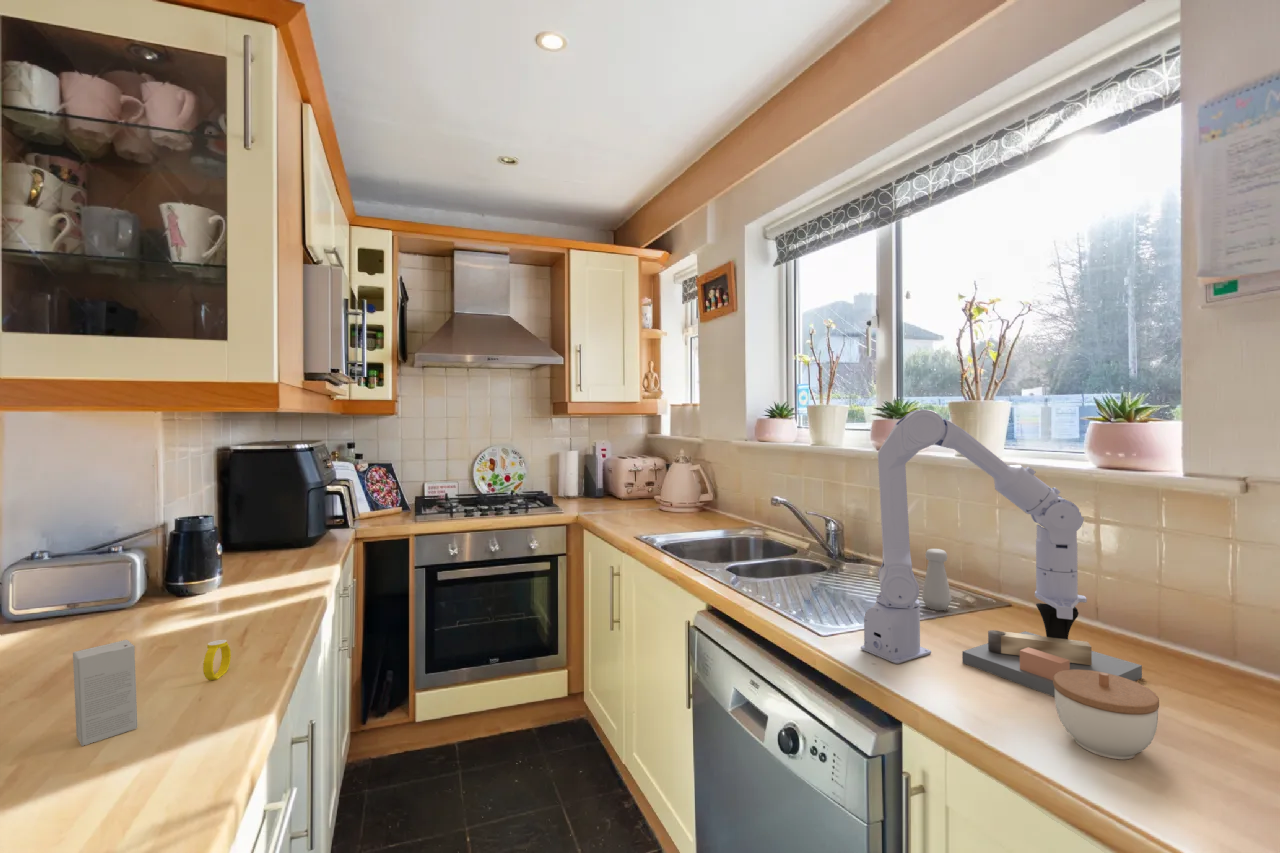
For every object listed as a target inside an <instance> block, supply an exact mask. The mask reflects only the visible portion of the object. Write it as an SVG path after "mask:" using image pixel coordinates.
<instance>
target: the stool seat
mask: <svg viewBox="0 0 1280 853" xmlns="http://www.w3.org/2000/svg"><path fill="white" fill-rule="evenodd" d="M1019 633H1020V634H1028V635H1036V636H1041V634H1035V633H1034V632H1029V631H1022V632H1019ZM961 653H962V654H961V655H962V664H964V665H966V666H967V665H968V666H970V667H973V668H976V669H978V670H980V671H983V672H987V673H989V674H992V675H995V676H997V677H1000V678H1003V679H1006V680H1008V681H1010V682H1013V683H1016V684H1019V685H1022V686H1025V687H1027V688H1030V689H1032V690H1035V691H1038V692H1040V693H1043V694H1045V695H1048V696H1051V697H1054V698H1055V696H1054V685H1053V676H1054V675H1055V674H1056V673H1058V672H1060V671H1064V670H1091V671H1098V672H1104V673H1108V674H1112V675H1116V676H1120V677H1123V678H1126V679H1129V680H1132V681H1135V682H1137V681H1138V680H1140V679H1142V678H1143V665H1142V664H1137V663H1136V662H1132V661H1128V660H1124V659H1121V658H1117V657H1114V656H1110V655H1108V654H1104V653H1100V652H1097V651H1094V650H1092V665H1084V664H1077V663H1070V660H1068V659H1064V658H1061V657H1058V656H1055V655H1052V654H1048V653H1045V652H1042V651H1039V650H1036V649H1032V648H1029V647H1028V648H1025V649H1022V650H1020V656H1018V655H1011V654H1003V653H995V652H992V651H990V650H989V649H988V642H987V643H983V644H981V645H978V646H974V647H971V648H969V649H966V650H965V649H964V650H962V652H961Z"/></svg>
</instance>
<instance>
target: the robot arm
mask: <svg viewBox="0 0 1280 853" xmlns="http://www.w3.org/2000/svg"><path fill="white" fill-rule="evenodd" d="M933 445H936V446H938V447H942V448H946V449H952V450H954V451H956V452H958V453H959V454H960V455H961V456H963V457H964V458H965V459H967V460H968V461H970V463H972V464H974V465H975V466H976V467H977V468H980V469H981V470H982V471H984V472H985V473H986V474H987V475H989V476H990V477H992V478H993V483H994V484H993V485H994V490H996V491H997V492H998V493H999V494H1001V495H1002V496H1003V497H1005V499H1008V500H1009V501H1010V503H1012V504H1014V505H1015V506H1016V507H1018V508H1019V509H1020V510H1021V511H1022V512H1024V513H1025V514H1027V515H1030V517H1031V519H1032V521H1033V522H1034V523H1037V524H1036V539H1035V563H1036V564H1035V566H1036V567H1035V578H1036V580H1035V582H1036V583H1035V587H1036V588H1035V591H1034V597H1035V598H1036V599H1037V600H1040V601H1041V603H1040V602H1037V603H1036V604H1035V606H1036V608H1037V609H1038V612H1039V614H1040V616H1041V619H1042V621H1043V625H1044V630H1045V635H1046V636H1045V637H1052V638H1060V639H1069V635H1070V631H1071V628H1072V626H1073V624H1074V622H1075V620H1076V619H1077V618H1078V616H1079V611H1078V609H1077V607H1076V606H1077V605H1078V604H1079V603H1087V600H1088V599H1087V597H1086V596H1085V595H1083V594H1082V595H1081V594H1079V592H1078V591H1079V589H1078V588H1079V586H1078V585H1079V584H1078V581H1079V580H1078V574H1079V573H1078V569H1079V568H1078V538H1077V537H1078V536H1077V534H1078V533H1077V532H1078V531H1079V530H1080V529H1081V527H1083V524H1084V520H1085V518H1084V517H1083V516H1082V514H1081V513H1082V512H1080V508H1079V507H1078V506H1077V505H1076V504H1074V503H1073V502H1072V501H1071V500H1068V499H1065V498H1064V497H1062V496H1061V495H1060V493H1061V490H1059V489H1058V488H1057V487H1055V486H1054V487H1050V486H1049V485H1048V484H1047V483H1045V481H1043V480H1041V479H1040V478H1039V477H1037V476H1036V470H1034V469H1033V468H1031V467H1030V466H1026V467H1024V466H1023V465H1022V464H1009V465H1008V464H1007V463H1005V462H1004V461H1003V460H1002V459H1001V458H999V456H997V455H996V454H994V453H993V452H992V451H991V450H990V449H988V448H987V447H986V446H985V445H984V444H982V443H981V442H979V440H977V439H976V438H975V437H974V436H972V435H971V434H970V433H969V432H967V431H966V430H965V429H963V427H961V426H960V425H957V424H955V423H954V422H952V421H950V420H948V419H946V418H943V417H942V416H941V415H940V414H939V413H937V412H936V411H934V410H931V409H916V410H912V411H910V412H908V413H906V414H905V415H904V416H903V417H902V418H900V419H899V420H897V421H896V422H895V424H894V426H893V428H892V429H891V431H890V432H889V434H888V436H886V438H885V439H884V442H883V443H882V445H881V446H880V448H879V449H878V453H877V463H878V464H877V466H878V483H879V484H878V485H879V486H878V488H879V505H880V506H879V507H880V520H881V523H880V524H881V538H882V542H881V543H882V552H881V553H882V563H881V566H880V567H879V569H878V574H877V576H878V577H877V578H878V582H879V586H880V587H879V588H880V592H879V594H877V595H876V601H875V604H874V605H873V606H871V607H869V608H868V609H867V610H866V611H865V613H864V617H863V640H864V641H863V644H864V645H861V646H860V649H861V650H862V651H864V652H867V653H870V654H871V655H874V656H876V657H879V658H882V659H883V660H886V661H888V662H891V663H893V664H901V663H905V662H908V661H910V660H914V659H917V658H922V657H923V656H927V655H930V654H932V650H931V649H929V648H925V647H923V646H921V614H920V613H921V612H920V611H921V607H920V604H921V603H920V600H919V599H918V598H919V595H920V586H919V583H918V581H917V580H916V578H915V573H914V570H913V563H912V556H911V546H910V544H911V543H910V526H909V511H908V510H909V504H908V489H907V488H908V487H907V470H906V469H907V467H906V465H907V463H908V462H909V461H910V460H911V459H913V457H915V456H916V454H918V453H919V452H921V451H922V450H924V449H927V448H929V447H931V446H933ZM1042 602H1043V603H1042Z"/></svg>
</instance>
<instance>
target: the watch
mask: <svg viewBox="0 0 1280 853" xmlns="http://www.w3.org/2000/svg"><path fill="white" fill-rule="evenodd" d="M206 648H207V651H206V653H205V654H204V658H203V663H202V664H203V665H202V671H203V675H204V677H205V679H206V680H208V681H217V680H218V679H220V678H221V677H222V676H224V675H225V674H227V673H228V670H229V667H230V664H231V658H232V652H231V647H230V644H228V640H227V639H216V640H214V641H210V642H208V643H207V644H206ZM218 649H219V650H220V651H221V654H220V655H221V659H220V665H219V668H218V671H216V672H214V659H215V656H216V653H217V651H218Z"/></svg>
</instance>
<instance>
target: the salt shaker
mask: <svg viewBox="0 0 1280 853" xmlns="http://www.w3.org/2000/svg"><path fill="white" fill-rule="evenodd" d="M924 554H925V559H926V560H927V561H928V562H927V566H926V573H925V578H924V583H923V589H922V592H921V593H922V594H921V598H922V600H923V602H924V605H925V607H926V608H927V607H928V609H929V608H930V609H935V610H934V611H936V610H944V611H947V610H948V608H949V606H950V604H951V602H952V594H951V591H950V585H949V580H948V576H947V575H948V574H947V571H946V567H945V566H946V565H945V562H947V560H948V553H947V552H946V550H944V549H941V548H929V549H927V550H926V551H925V553H924ZM930 609H929V610H930ZM946 609H947V610H946Z"/></svg>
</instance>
